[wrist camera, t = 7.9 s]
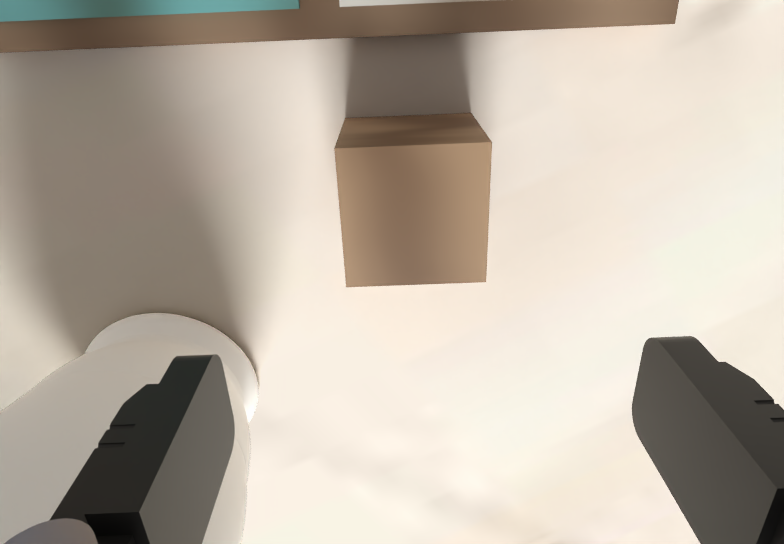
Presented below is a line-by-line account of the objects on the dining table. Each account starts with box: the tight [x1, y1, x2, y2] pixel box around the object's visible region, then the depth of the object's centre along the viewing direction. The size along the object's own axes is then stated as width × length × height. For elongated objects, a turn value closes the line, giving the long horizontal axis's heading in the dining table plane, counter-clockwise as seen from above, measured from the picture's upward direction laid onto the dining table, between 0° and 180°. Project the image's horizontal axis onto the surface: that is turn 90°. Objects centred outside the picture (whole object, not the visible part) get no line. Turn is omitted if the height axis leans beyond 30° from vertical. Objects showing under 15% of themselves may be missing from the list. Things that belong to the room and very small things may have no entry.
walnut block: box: [335, 113, 492, 287], centre depth 21 cm, size 5×5×5 cm
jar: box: [0, 313, 259, 544], centre depth 21 cm, size 11×10×15 cm
